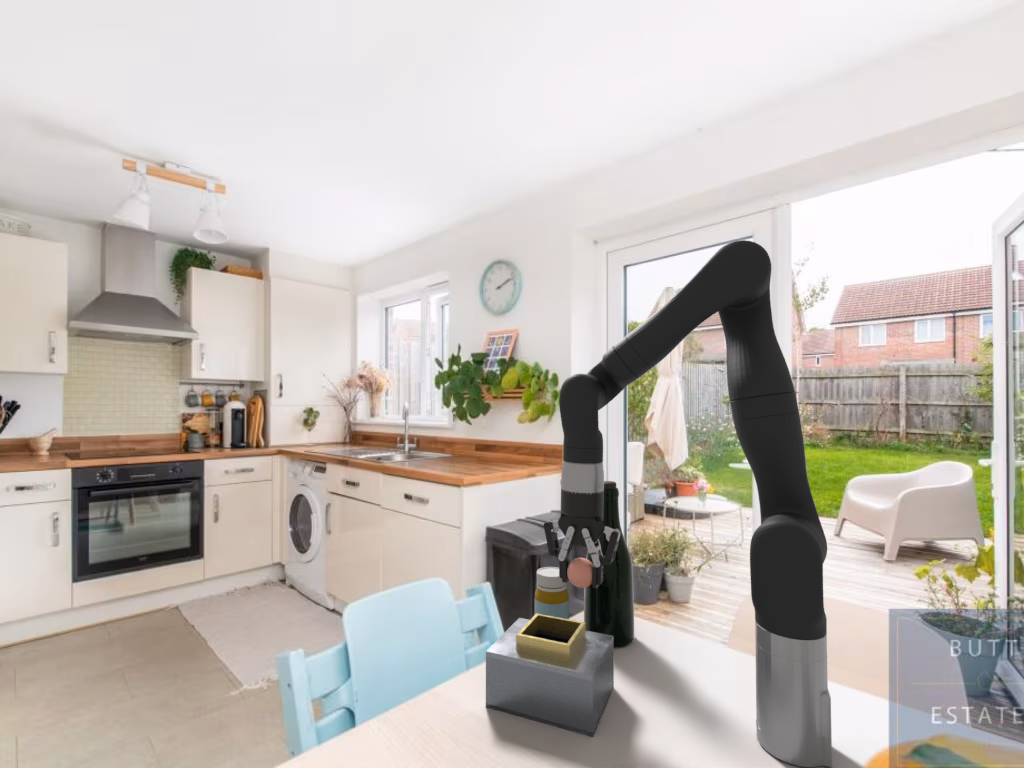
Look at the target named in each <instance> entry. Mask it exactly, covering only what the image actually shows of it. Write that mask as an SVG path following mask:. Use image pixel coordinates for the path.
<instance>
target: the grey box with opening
mask: <svg viewBox="0 0 1024 768" xmlns="http://www.w3.org/2000/svg"><path fill="white" fill-rule="evenodd" d="M614 649H615V648H614V647H613V636H612V635H606V634H601V633H596V632H591V631H586V630H585V622H584V621H580V620H576V619H575V620H574V619H570V618H569V619H564V618H559V617H554V616H548V615H543V614H537V613H536V614H535V613H534V615H533V616H532V617H531V618H530V619H527V618H524V617H518V619H516V620H515V621H514V622H513V624H512V625H511V626H509V627H508V629H506V631H504V632H503V633H502V634H501V635H500V636H499V638H497V640H495V641H494V643H492V645H491V646H489V647H488V648H487V650H485V708H487V709H492V710H495V711H499V712H502V713H505V714H509V715H513V716H516V717H520V718H523V719H528V720H530V721H533V722H534V721H535V722H537V723H542V724H546V725H549V726H553V727H556V728H561V729H564V730H567V731H570V732H572V733H573V732H574V733H578V734H582V735H585V736H588V737H593V738H594V736H595V734H596V731H597V728H598V726H599V724H600V721H601V719H602V716H603V714H604V711H605V709H606V707H607V704H608V703H609V700H610V698H611V696H612V693H613V691H614V687H615V686H614V685H615V683H614V682H615V681H614V679H615V678H614V671H615V669H614V668H615V667H614V661H615V660H614V656H615V654H614Z"/></svg>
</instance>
